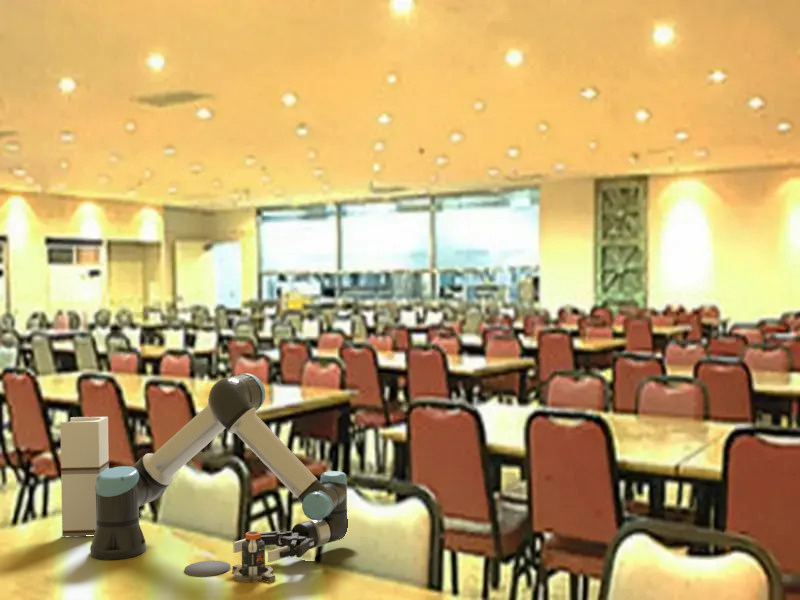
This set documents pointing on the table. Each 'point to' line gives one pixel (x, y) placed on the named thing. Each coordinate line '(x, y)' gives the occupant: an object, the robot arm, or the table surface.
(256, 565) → the pill bottle
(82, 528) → the beige tall box
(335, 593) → the table surface
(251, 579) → the collar
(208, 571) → the coaster
